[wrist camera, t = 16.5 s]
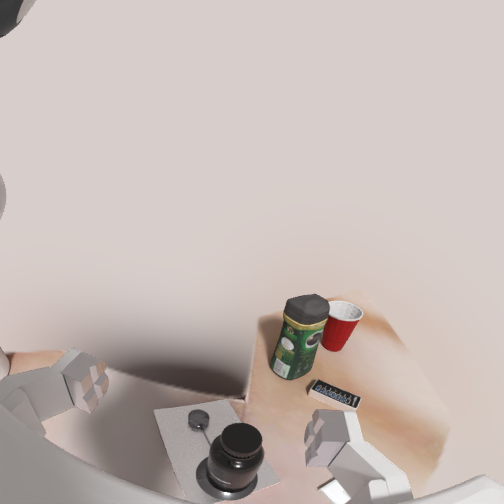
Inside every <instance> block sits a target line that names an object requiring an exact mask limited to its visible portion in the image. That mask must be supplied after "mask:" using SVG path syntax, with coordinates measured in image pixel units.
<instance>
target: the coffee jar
mask: <svg viewBox="0 0 504 504" xmlns="http://www.w3.org/2000/svg"><path fill="white" fill-rule="evenodd" d="M329 311H330V305H329V302H328V301H327V300H326V299H324V298H322V297H321V296H319V295H317V294H312V295H303V296H298V297H295V298H291V299H288V300H287V303H286V306H285V309H284V312H283V318H284V322H283V327H282V330H281V334H280V337H279V340H278V343H277V346H276V349H275V351H274V354H273V357H272V360H271V364H270V365H271V368H272V370H273V371H274V372H275V373H276V374H277V375H278V376H280V377H282V378H284V379H288V380H293V379H296V378H299V377H301V376H303V375H305V374H306V373H308V372H309V371H310V370H311V368H312V365H313V362H314V358H315V354H316V351H317V347H318V344H319V340H320V337H321V333H322V331H323V328H324V326H325V324H326V322H327V319H328V316H329Z"/></svg>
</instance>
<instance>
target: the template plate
mask: <svg viewBox="0 0 504 504" xmlns="http://www.w3.org/2000/svg"><path fill="white" fill-rule="evenodd" d="M154 415H155V418H156V421H157V425H158V428H159V431H160V434H161V437H162V440H163V443H164V446H165V448H166V451H167V454H168V457H169V459H170V462H171V465H172V467H173V470H174V472H175V475H176V477H177V480H178V482H179V484H180V487H181V489H182V491H183V493H184V496H185V498H186V500H187V501H190V502H194V503H199V504H219V503H222V502H226V501H230V500H238V499H242V498H244V497H246V496H248V495H249V494H252V493H255V492H258V491H261V490H263V489H266V488H269V487H271V486H274V485H277V484H279V483H281V480H280V478H279V477H278V476H277V474H276V473H275V472H274V470H273V469H272V467H271V466H270V465H269V463H268V462H267V460H266V459H265V457H264V459H263V462H262V464H261V466H260V468H259V470H258V472H257V474H256V476H255V478H254V479H253V481H252V483H251V484H250V486H249V487H248V488H247V489H245V490H243V491H241V492H237V493H225V492H222V491H219V490H217V489H216V488H214V487H213V486H212V485H211V484H210V483H209V481H208V480H207V477H206V468H207V462H208V456H209V450H210V446H211V443H212V442H213V440H214V439H215V438H216V437H217V436H219V435H221V434H222V431H223V430H224V428H226V426H228V425H231V424H232V423H241V421H240V419H239V418H238V416H237V414H236V413H235V411H234V410H233V408H232V406H231V405H230V403H229V401H228V400H227V399H222V400H217V401H212V402H206V403H200V404H194V405H187V406H180V407H172V408H164V409H154Z"/></svg>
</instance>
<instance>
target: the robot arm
mask: <svg viewBox="0 0 504 504" xmlns="http://www.w3.org/2000/svg"><path fill="white" fill-rule="evenodd" d="M35 1H36V0H0V38H1V37H3V36H5V35H6V34H8V33H9V32H10V31H11V30H13V29H14V28H15V27H16V26H17V25H18V24H19V23H20V22H21V20H22V19H23V17H24V16H25V15H26V14H27V12H28V11H29V10H30V9H31V7H32V6H33V4H34V3H35ZM5 203H6V189H5V184H4V181H3V179H2V177H1V175H0V218H1V216H2V214H3V211H4V208H5ZM9 367H10V365H9V360H8V358H7V356H6V355H5V354H4V352H3V351H2V349H1V347H0V504H199V503H194V502H190V501H186V500H182V499H179V498H175V497H171V496H168V495H165V494H161V493H158V492H155V491H152V490H149V489H146V488H144V487H141V486H138V485H136V484H133V483H130V482H128V481H125V480H123V479H121V478H118V477H116V476H114V475H111V474H109V473H107V472H105V471H103V470H101V469H99V468H97V467H95V466H93V465H91V464H89V463H87V462H85V461H83V460H81V459H79V458H77V457H76V456H74V455H72V454H70V453H69V452H67V451H65V450H64V449H62V448H60V447H59V446H57V445H55V444H54V443H52V442H51V441H49V440H48V439H46V438H45V437H44V435H45V434H46V431H45V429H44V427H43V425H42V424H41V421H44V420H46V419H48V418H51V417H53V416H55V415H57V414H60V413H62V412H64V411H66V410H68V409H71V408H73V407H74V406H75V407H77V408H79V409H81V410H83V411H86V412H88V413H90V414H91V413H92V411H93V410H94V409H95V407H96V406H97V404H98V398H101V397H103V396H104V395H105V393H106V391H107V388H108V383H109V380H108V376H107V375H106V373H105V372H104V370H105V369H106V365H105V362H104V361H102V360H100V359H98V358H96V357H93V356H91V355H89V354H87V353H84V352H82V351H80V350H78V349H76V348H72V349H70V350H69V351H68V352H67V353H66V354H65V355H64V356H63V357H62V358H60V359H59V360H58V361H57V362H56V363H55V364H54V365H53V366H52V367H51V368H50V367H44V368H40V369H35V370H31V371H27V372H22V373H18V374H13V375H9V376H7V375H8V372H9ZM312 418H313V420H312V421H311V422H309V423H308V425H307V427H306V431H305V437H304V442H305V445H306V446H307V447H308V449H307V451H306V453H305V458H306V467H328V470H329V471H330V472H331V474H332V475H333V476H334V478H335V479H336V480H337V481H338V483H339V484H340V485H341V486H342V488H343V489H344V490H345V491H346V493H347V494H348V495H349V496H350V498H351V499H350V500H348V501H347V502H346V503H345V504H504V485H503V484H501V483H500V482H498V481H496V480H495V479H493V478H491V477H489V476H487V475H479V476H476V477H474V478H471V479H469V480H467V481H465V482H462V483H460V484H457V485H455V486H452V487H450V488H447V489H444V490H441V491H439V492H436V493H433V494H430V495H426V496H423V497H420V498H416V499H413V495H412V492H411V488H410V485H409V482H408V479H407V475H406V474H405V473H404V472H403V471H402V470H400V469H399V468H398V467H397V466H396V465H394V464H393V463H392V462H391V461H390V460H388V459H387V458H386V457H385V456H384V455H382V454H381V453H380V452H379V451H378V450H377V449H375V448H374V447H373V446H372V445H371V444H370V443H369V442H364V440H363V436H362V432H361V429H360V425H359V422H358V418H357V415H356V412H355V411H354V410H323V409H316V410H315V411H314V413H313V415H312Z"/></svg>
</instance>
